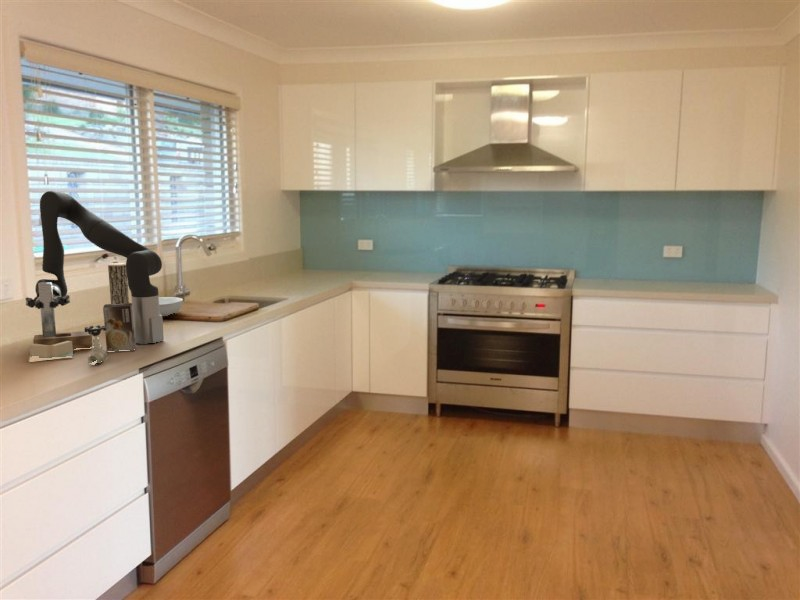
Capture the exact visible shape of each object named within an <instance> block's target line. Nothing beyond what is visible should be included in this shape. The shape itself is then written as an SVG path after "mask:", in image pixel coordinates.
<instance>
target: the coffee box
mask: <svg viewBox="0 0 800 600" xmlns="http://www.w3.org/2000/svg"><path fill="white" fill-rule="evenodd" d="M102 312H103V313H102V314H103V321H104V322H103V323H104V326H106V330H105V331H104V334H105V345H106V352H107V351H119V350H134V349H135V350H136V348H137V346H136V345H137V344H136V343H135V334H134V323H133V311H132V302H129V303H122V304H111V303H107V304H104V305H103V307H102ZM135 347H136V348H135Z"/></svg>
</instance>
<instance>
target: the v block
mask: <svg viewBox="0 0 800 600" xmlns="http://www.w3.org/2000/svg"><path fill="white" fill-rule="evenodd" d="M73 351H74V349H73V346H72V341H65V342H61V343H58V344H54V345H42V344H33V343H31V344H29V352H30V354H29V357H30V356H31V357H32V356H39V358H52V357H66V356H73ZM74 352H75V351H74ZM73 357H74V356H73Z"/></svg>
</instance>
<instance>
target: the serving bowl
mask: <svg viewBox="0 0 800 600" xmlns="http://www.w3.org/2000/svg"><path fill="white" fill-rule="evenodd" d="M183 304H184V299H183V298H181V297H177V296H176V297H174V296H163V297H162V296H161V297H160V296H159V311H160V315H162V316H166V315H170V314H172V315H174V314H173V313H175V314H177V313H178V312H179V311H180V310H181V309H182V308H183ZM170 316H171V315H170Z"/></svg>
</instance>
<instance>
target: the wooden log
mask: <svg viewBox="0 0 800 600" xmlns="http://www.w3.org/2000/svg"><path fill="white" fill-rule="evenodd" d="M107 270H108V271H107V272H108V282H109V284H108V285H109V295H110V297H109V298H110V304H122V303H130V299H129V286H128V280H127V272H126V262H112V263H107Z"/></svg>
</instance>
